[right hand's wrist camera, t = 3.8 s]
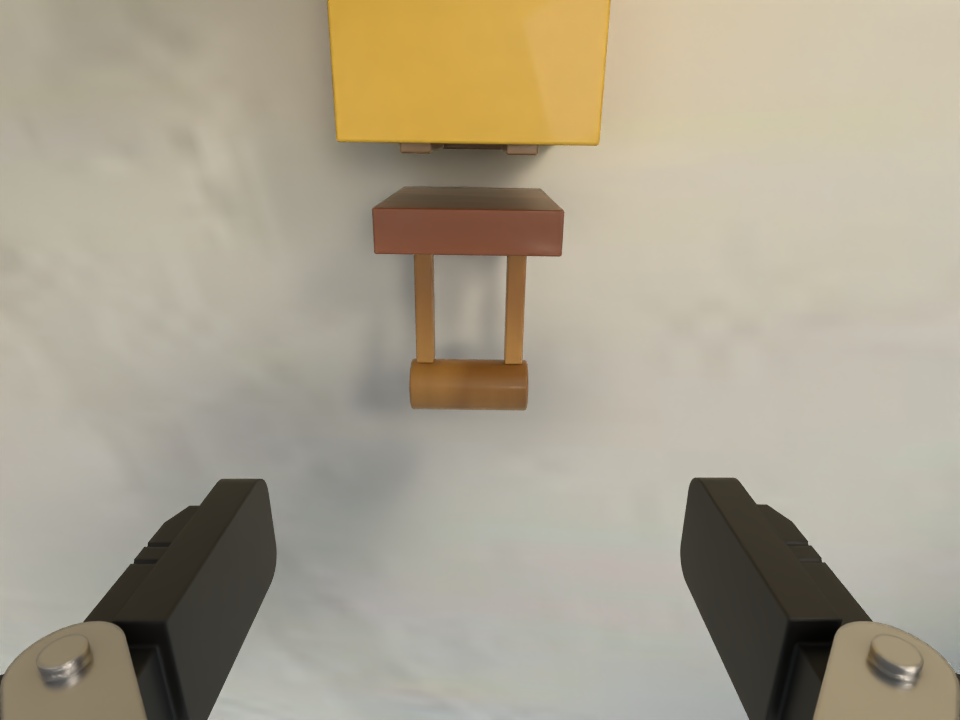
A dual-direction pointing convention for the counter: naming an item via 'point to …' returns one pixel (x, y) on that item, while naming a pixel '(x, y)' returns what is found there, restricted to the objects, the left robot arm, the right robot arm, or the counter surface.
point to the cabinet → (468, 70)
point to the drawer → (468, 231)
